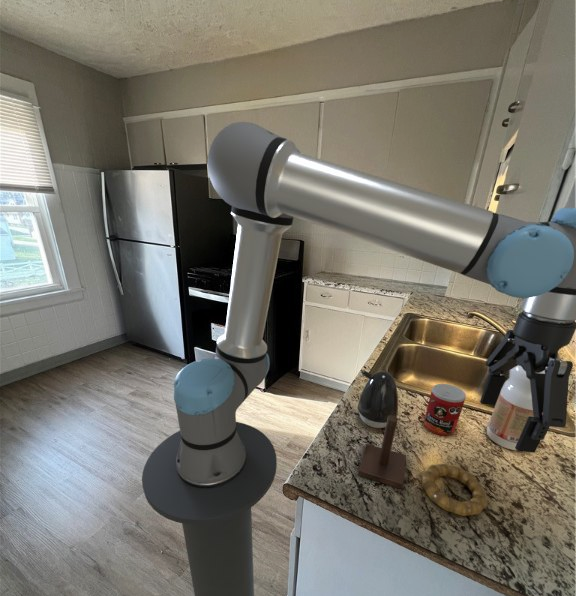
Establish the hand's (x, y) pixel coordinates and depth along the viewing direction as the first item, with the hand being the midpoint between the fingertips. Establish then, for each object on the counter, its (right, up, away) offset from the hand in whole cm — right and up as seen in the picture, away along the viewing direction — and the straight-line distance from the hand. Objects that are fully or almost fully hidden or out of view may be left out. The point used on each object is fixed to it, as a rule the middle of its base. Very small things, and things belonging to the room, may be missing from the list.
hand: (504, 424), depth 58 cm
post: (-19, -12, +11) cm, 25 cm away
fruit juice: (+15, -9, +21) cm, 28 cm away
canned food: (0, -6, +25) cm, 26 cm away
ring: (-7, -14, +5) cm, 16 cm away
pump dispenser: (-17, -5, +26) cm, 32 cm away
